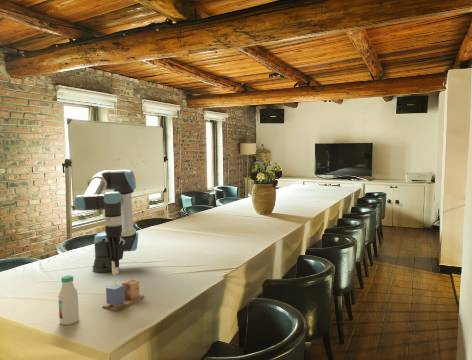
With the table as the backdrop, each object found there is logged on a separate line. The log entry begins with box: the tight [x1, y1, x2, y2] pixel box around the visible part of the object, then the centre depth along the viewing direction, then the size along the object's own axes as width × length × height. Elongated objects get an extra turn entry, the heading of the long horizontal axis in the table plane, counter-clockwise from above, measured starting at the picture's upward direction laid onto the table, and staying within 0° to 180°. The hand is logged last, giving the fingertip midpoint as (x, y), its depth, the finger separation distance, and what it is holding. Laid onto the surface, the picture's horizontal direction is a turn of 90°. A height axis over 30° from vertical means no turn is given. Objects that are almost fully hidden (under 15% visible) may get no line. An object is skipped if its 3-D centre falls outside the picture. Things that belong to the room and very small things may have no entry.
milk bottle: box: [58, 274, 80, 326], centre depth 155 cm, size 8×8×20 cm
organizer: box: [102, 278, 145, 313], centre depth 174 cm, size 10×18×9 cm, turn 155°
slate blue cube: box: [105, 283, 125, 305], centre depth 170 cm, size 6×6×8 cm
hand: (115, 273), depth 169 cm, fingers closed
